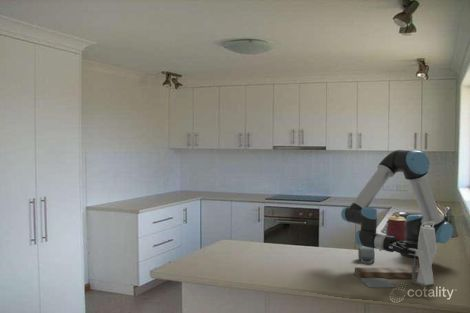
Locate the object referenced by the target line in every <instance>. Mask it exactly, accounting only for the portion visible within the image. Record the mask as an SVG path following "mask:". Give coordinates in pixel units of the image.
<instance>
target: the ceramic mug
mask: <svg viewBox="0 0 470 313" xmlns="http://www.w3.org/2000/svg"><path fill="white" fill-rule="evenodd" d="M357 251H358V252H357V253H358V254H357V255H358V256H357V257H358V260H359V261H360V262H362V263H363V264H367V265H369V264H370V265H371V264H372V263H373V262H375V260H376V259H375V248H370V247H364V246H360V247H358V250H357Z"/></svg>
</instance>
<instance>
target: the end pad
mask: <svg viewBox="0 0 470 313" xmlns="http://www.w3.org/2000/svg"><path fill="white" fill-rule="evenodd" d="M358 278H359V280H360V281H361V282H362V283H363V284H364V285H366V286H367V288H396V286H395V285H394V284H393V283H392V282H391V281H389V280H388V279H387V278H360V277H358Z"/></svg>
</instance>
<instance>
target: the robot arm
mask: <svg viewBox="0 0 470 313" xmlns="http://www.w3.org/2000/svg"><path fill="white" fill-rule="evenodd" d="M430 163H431V162H430V158H429V157H428V155H427V154H426V153H425V152H423V151H421V150H417V149H416V150H415V149H414V150H405V149H404V150H403V149H396V150H394V151H391V152H390V153H388V154H387V155H386V156H385V157H384V158H383V159H382V160H381V161H380V162H379V163H378V165H377V170H375V172H374V174H373V175H372V176H371V178H370V179H369V180H368V182H367V183H366V184H365V186H364V187H363V188H362V190H361V191H360V192H359V194H358V195H357V196H356V198H355V199H354V200H353V202H352V203H351V204H350V205H349V206H345V207H344V208H342V210H341V211H340V212H341V213H340V216H341V218H342V220H343V221H346V222H347V223H352V224H356V225H360V230H357V231H356V233H355V236H354V240H355V243H356V244H357V245H358V246H360V247H370V248H374V250H375V249H376V250H379V252H381V251H385V252H389V253H394V252H396V253H399V254H401V255H402V256H405V257H409V258H413V259H414V255H415V259H419V257H424V251H422V250H418V238H419V232H420V227H421V225H422V224H423V223H425V222H434V223H435V224H434V223H425V224H424V225H429V226H431V227H432V226H433V224H434V227H433V228H435V237H436V244H446V243H448V242H449V241H450V240H451V238H452V236H453V233H454V230H453V229H454V228H453V226H452V224H451V223H449V222H448V221H446V220H445V217H444V215H443V214H442V213H440V211H439V209H438V205H437V203H436V201H435V200H436V199H435V198H434V194H433V191H432V189H431V186H430V183H429V180H428V178H427V175H428V173H429V169H430ZM396 173H403V176H404V179H405V180H407V181H409V183H410V186H411V189H412V193H413V194H414V197H415V200H416V203H417V206H418V208H419V211H420V214H409V215H407V216H406V218H405V219H406V230H405V241H399V242H398V241H397V239H396V238H395V237H394V236H387V235H386V234H383V233H377V225H378V224H377V223H378V211H377V209H376V208H374V207H369V206H370V205H371V203H372V202H373V201H374V199H375V198H376V197H377V195H378V194H379V193H380V191H381V190H382V189H383V187H384V186H385V184H386V183H387V182H388V181H389V179H390V178H393V177H394V175H395V174H396ZM424 225H423V227H424ZM437 249H438V246H437V245H436V249H435V253H438V250H437ZM418 256H419V257H418Z"/></svg>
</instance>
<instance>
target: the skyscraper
mask: <svg viewBox="0 0 470 313" xmlns="http://www.w3.org/2000/svg"><path fill="white" fill-rule="evenodd" d="M425 223H434V222H425ZM425 223H423V224H422V225H421V227H420V232H419V238H418V250H422V251H424V257H419V256H418V257H419V258H418V262H419V266H418V268H419V272H418V276H417V278H416V268H417V264H416V259H417V258H415V255H414V258H413V263H412V268H413V271H412V278H411V281H410V283H412V284H415V285H418V286H421V287H428V286H434V285H435V280H434V275H433V267H432V264H433V263H434V262H433V261H434V258H435V254H436V252H435V249H436V246H437V243H436V237H435V228H433V227H434V224H435V223H434V224H433V226H432V227H431V226H429V225H424V224H425ZM423 225H424V227H423Z"/></svg>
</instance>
